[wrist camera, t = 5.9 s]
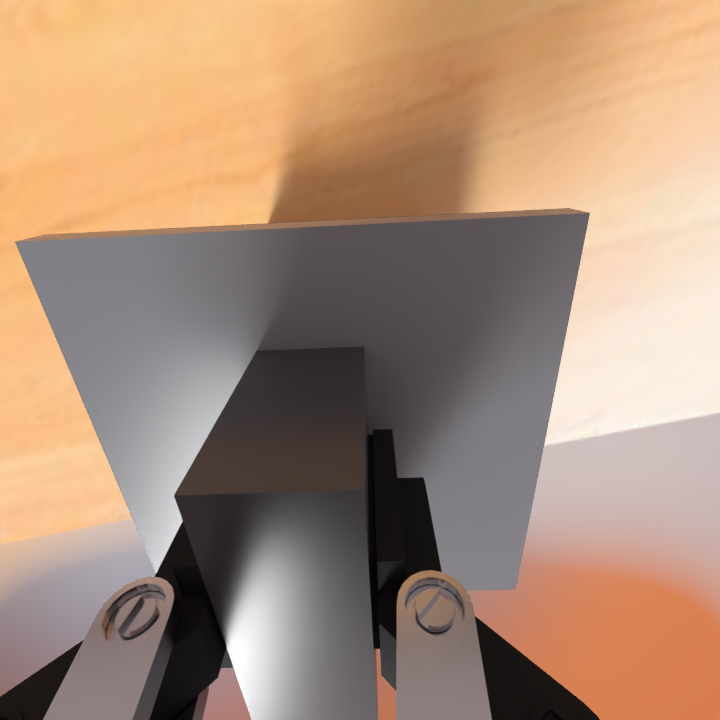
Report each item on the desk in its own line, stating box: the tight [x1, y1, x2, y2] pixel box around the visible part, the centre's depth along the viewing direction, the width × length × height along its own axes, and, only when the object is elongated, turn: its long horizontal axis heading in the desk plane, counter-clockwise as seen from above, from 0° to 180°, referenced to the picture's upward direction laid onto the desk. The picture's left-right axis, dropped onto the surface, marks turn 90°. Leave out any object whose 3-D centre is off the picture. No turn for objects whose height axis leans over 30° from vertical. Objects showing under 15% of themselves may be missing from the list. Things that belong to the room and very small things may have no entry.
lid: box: [15, 208, 590, 720], centre depth 10 cm, size 13×13×6 cm
